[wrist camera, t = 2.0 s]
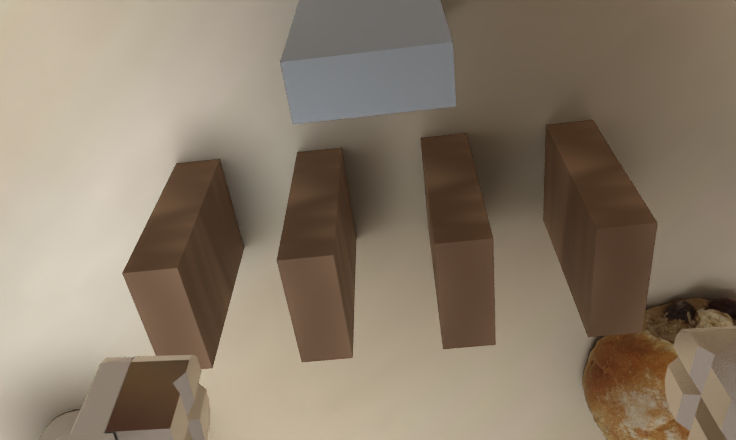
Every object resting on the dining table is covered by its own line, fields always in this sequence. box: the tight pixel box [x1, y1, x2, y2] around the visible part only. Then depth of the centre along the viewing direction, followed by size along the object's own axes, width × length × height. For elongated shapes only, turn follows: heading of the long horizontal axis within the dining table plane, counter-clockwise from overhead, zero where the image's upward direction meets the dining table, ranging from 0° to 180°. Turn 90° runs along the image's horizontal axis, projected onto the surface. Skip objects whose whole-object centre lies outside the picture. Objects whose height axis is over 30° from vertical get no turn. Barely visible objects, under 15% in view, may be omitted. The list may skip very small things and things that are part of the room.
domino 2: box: [277, 148, 356, 362], centre depth 28 cm, size 2×5×8 cm, turn 7°
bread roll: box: [582, 298, 736, 440], centre depth 36 cm, size 10×10×8 cm
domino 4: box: [421, 133, 496, 349], centre depth 28 cm, size 2×5×8 cm, turn 7°
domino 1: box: [122, 159, 244, 369], centre depth 29 cm, size 2×5×8 cm, turn 7°
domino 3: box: [280, 0, 456, 124], centre depth 23 cm, size 2×5×8 cm, turn 97°
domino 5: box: [543, 120, 657, 337], centre depth 27 cm, size 2×5×8 cm, turn 7°
